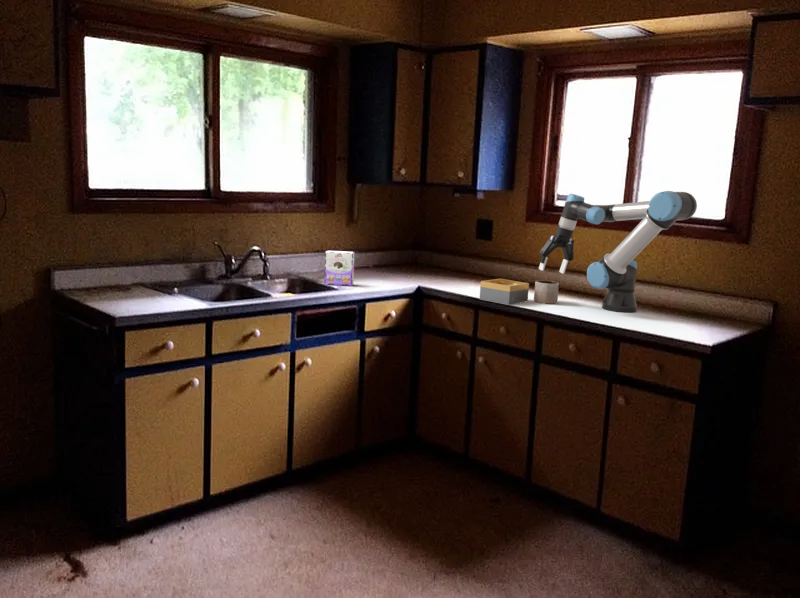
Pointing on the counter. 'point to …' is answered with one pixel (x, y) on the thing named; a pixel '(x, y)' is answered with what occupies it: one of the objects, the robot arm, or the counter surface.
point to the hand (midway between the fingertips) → (551, 271)
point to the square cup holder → (504, 291)
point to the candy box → (339, 268)
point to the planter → (546, 291)
